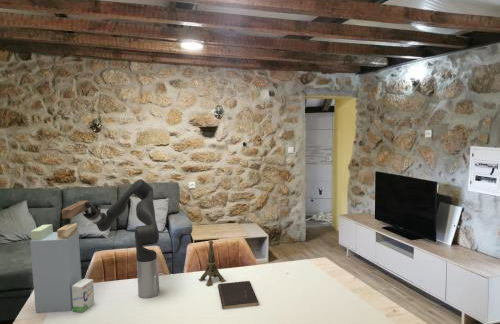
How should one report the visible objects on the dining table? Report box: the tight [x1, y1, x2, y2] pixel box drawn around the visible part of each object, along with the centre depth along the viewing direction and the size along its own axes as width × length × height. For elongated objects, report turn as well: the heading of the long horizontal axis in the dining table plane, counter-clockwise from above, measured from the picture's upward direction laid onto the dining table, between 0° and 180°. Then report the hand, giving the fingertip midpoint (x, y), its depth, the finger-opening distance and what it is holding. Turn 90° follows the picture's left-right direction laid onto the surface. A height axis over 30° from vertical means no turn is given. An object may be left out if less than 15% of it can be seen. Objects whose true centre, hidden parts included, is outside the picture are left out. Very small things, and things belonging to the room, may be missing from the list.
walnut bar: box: [61, 200, 90, 220], centre depth 178 cm, size 4×22×4 cm, turn 4°
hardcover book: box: [217, 280, 259, 310], centre depth 172 cm, size 16×23×2 cm
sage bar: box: [30, 223, 54, 241], centre depth 163 cm, size 4×11×4 cm, turn 4°
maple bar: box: [56, 222, 78, 239], centre depth 164 cm, size 4×11×4 cm, turn 4°
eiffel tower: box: [198, 239, 227, 287], centre depth 189 cm, size 11×11×25 cm
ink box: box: [72, 278, 95, 313], centre depth 163 cm, size 9×5×12 cm, turn 168°
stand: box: [29, 230, 83, 314], centre depth 165 cm, size 15×13×32 cm
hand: (81, 203), depth 184 cm, fingers closed on walnut bar, 4 cm apart
